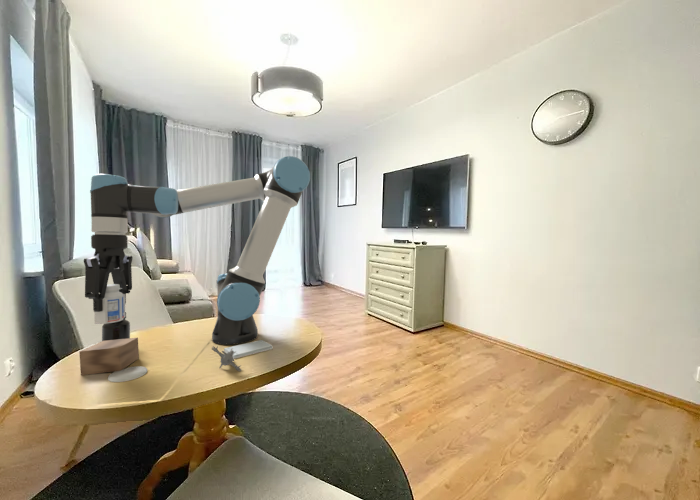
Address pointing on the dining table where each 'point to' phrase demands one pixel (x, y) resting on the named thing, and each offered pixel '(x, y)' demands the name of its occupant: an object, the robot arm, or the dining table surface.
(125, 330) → the supplement bottle
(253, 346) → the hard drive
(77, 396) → the dining table surface
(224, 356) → the grey cross-shaped piece
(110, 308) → the pill bottle
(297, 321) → the dining table surface
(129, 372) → the grey coaster
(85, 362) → the walnut block
